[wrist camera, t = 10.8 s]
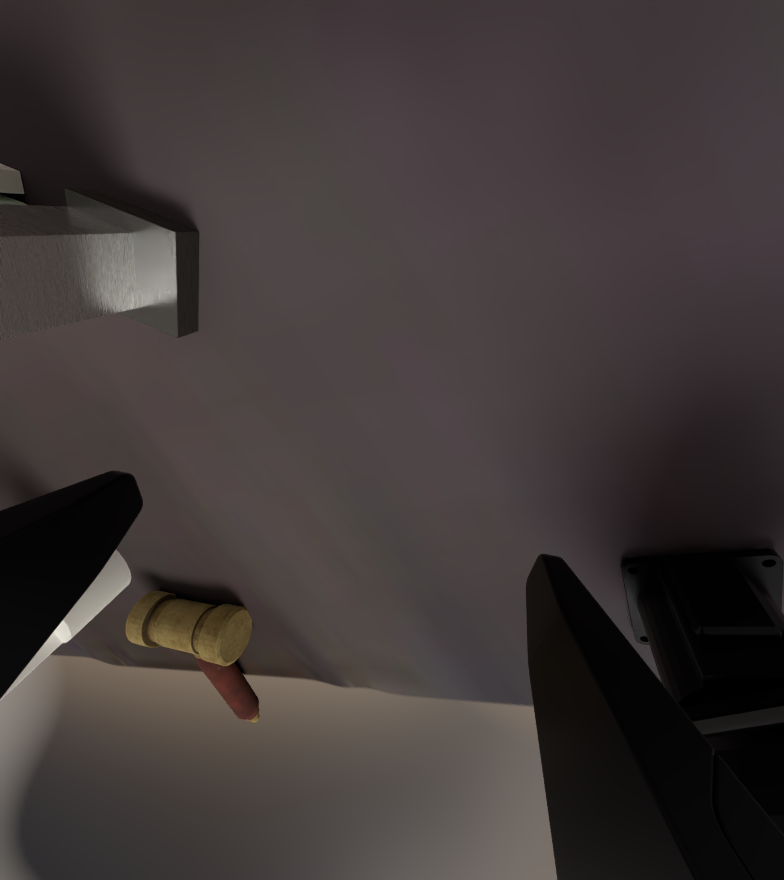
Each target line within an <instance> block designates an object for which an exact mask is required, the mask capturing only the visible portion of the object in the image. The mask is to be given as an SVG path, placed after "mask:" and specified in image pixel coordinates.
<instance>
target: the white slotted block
mask: <svg viewBox="0 0 784 880" xmlns="http://www.w3.org/2000/svg"><path fill="white" fill-rule="evenodd" d="M0 193H15V194H24V189H23V184H22V180H21V175H20V171H18V170H15V169H13V168H10V167H8V166H5V165H3V164H0Z"/></svg>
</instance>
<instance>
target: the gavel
mask: <svg viewBox="0 0 784 880" xmlns="http://www.w3.org/2000/svg"><path fill="white" fill-rule="evenodd" d="M251 631H252V620H251V618H250V615H249V613H248V611H247V610H246V609H245V607H241V606H236V605H231V604H222V605H220V606H216V605H210V604H205V603H200V602H195V601H190V600H185V599H178V598H177V597H176V595H175V594H173V593H168V592H163V591H153V592H150V593H148V594H146V595H144V596H143V597H142V598H141V599H140V600H139V601H138V602H137V603H136V604H135V605H134V607H133V608H132V610H131V612H130V614H129V616H128V619H127V622H126V635H127V637H128V639H129V640H130V641H131V642H132V643H135V644H139V645H143V646H147V647H151V648H155V647H159V646H164V647H168V648H172V649H176V650H180V651H185V652H189V653H193V654H194V656H195V658H196V661H197V664H198V666H199V667H200V668H201V670H202V671H203V672H204V674H205V675H206V676H207V677H208V679H209V680H210V681H211V683H212V684H213V685H214V687H215V688H216V689H217V691H218V692H219V693H220V695H221V696H222V697H223V699H224V700H225V701H226V702H227V704H228V705H229V706H230V708H231V709H232V710H233V712H234V713H235V714H236V716H237V717H238V718H240V719H244V720H247V721H252V722H257V721H258V719H259V708H258V707H259V700H258V697H257V696H256V694H255V692H254V691H253V690H252V688H251V686H250V685H249V683H248V682H247V680H246V679H245V677H244V676H243V674H242V673H241V671H240V670H239V668H238V667H237V665H236V664H235V661H236V660H237V659H238V658H239V657H240V655H241V654H242V653H243V651H244V649H245V648H246V646H247V644H248V641H249V639H250V635H251Z"/></svg>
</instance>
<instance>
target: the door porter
mask: <svg viewBox="0 0 784 880" xmlns="http://www.w3.org/2000/svg"><path fill="white" fill-rule="evenodd" d="M64 190H65V197H66V203H67V206H39V205H11V204H0V339H4V338H9V337H13V336H17V335H22V334H26V333H31V332H35V331H39V330H44V329H48V328H52V327H57V326H61V325H66V324H70V323H74V322H79V321H83V320H87V319H92V318H96V317H101V316H105V315H109V314H114V313H120V314H122V315H125V316H127V317H129V318H132V319H134V320H137V321H139V322H141V323H144V324H146V325H148V326H151V327H153V328H155V329H158V330H160V331H162V332H165V333H167V334H170V335H172V336H174V337H177V338H179V337H182V336H185V335H188V334H191V333H194V332H197V331H198V295H199V232H198V231H196V230H193V229H191V228H188V227H186V226H183V225H181V224H178V223H176V222H173V221H171V220H168V219H166V218H163V217H161V216H158V215H156V214H153V213H151V212H148V211H146V210H143V209H141V208H138V207H136V206H133V205H131V204H128V203H126V202H123V201H121V200H118V199H116V198H113V197H111V196H108V195H106V194H103V193H101V192H98V191H96V190H86V189H73V188H64Z"/></svg>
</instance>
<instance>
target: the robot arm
mask: <svg viewBox="0 0 784 880" xmlns="http://www.w3.org/2000/svg"><path fill="white" fill-rule="evenodd" d="M142 506H143V499H142V496H141V494H140V491H139V488H138V485H137V482H136V480H135V477H134V476H133V475H132V474H130V473H125V472H120V471H109V472H106V473H103V474H101V475H98V476H95V477H92V478H90V479H87V480H84V481H81V482H79V483H76V484H73V485H70V486H68V487H65V488H62V489H59V490H57V491H54V492H51V493H48V494H46V495H43V496H40V497H37V498H34V499H32V500H29V501H26V502H23V503H21V504H18V505H15V506H12V507H10V508H7V509H4V510H1V511H0V699H1V698H2V697H3V695H4V694H5V693H6V691H7V690H8V689H9V688H10V686H11V685H12V684H13V683H14V681H15V680H16V679H17V678H18V676H19V675H20V674H21V672H22V671H23V670H24V669H25V667H26V666H27V665H28V664H29V662H30V661H31V660H32V659H33V657H34V656H35V655H36V653H37V652H38V651H39V650H40V648H41V647H42V646H43V645H44V643H45V642H46V641H47V640H48V638H49V637H50V636H51V634H52V633H53V632H54V631H55V629H56V628H57V627H58V626H59V624H60V623H61V622H62V621H63V619H64V618H65V617H66V615H67V614H68V613H69V612H70V610H71V609H72V608H73V607H74V605H75V604H76V603H77V602H78V600H79V599H80V598H81V596H82V595H83V594H84V593H85V591H86V590H87V589H88V588H89V586H90V585H91V584H92V583H93V581H94V580H95V579H96V577H97V576H98V575H99V573H100V572H101V571H102V569H103V568H104V566H105V565H106V563H107V562H108V561H109V559H110V557H111V556H112V554H113V553H114V551H115V550H116V548H117V547H118V545H119V544H120V542H121V541H122V539H123V537H124V536H125V534H126V533H127V531H128V530H129V528H130V527H131V525H132V524H133V522H134V521H135V519H136V517H137V516H138V514H139V513H140V511H141V509H142ZM768 559H769V560H768ZM765 560H766V561H765ZM631 567H635V568H631ZM621 570H622V576H623V581H624V586H625V591H626V597H627V602H628V607H629V613H630V618H631V623H632V628H633V633H634V637H635V640H636V641H637V642H638V643H640V644H645V645H650V647H651V651H652V654H653V657H654V660H655V663H656V666H657V669H658V672H659V675H660V678H661V682H662V683H661V682H660V680H659V679H658V678H657V677H656V675H655V674H654V673H653V672H652V670H651V669H650V668H649V667H648V665H647V664H646V663H645V662H644V660H643V659H642V658H641V657H640V655H639V654H638V653H637V652H636V650H635V649H634V648H633V646H632V645H631V644H630V643H629V641H628V640H627V639H626V638H625V636H624V635H623V634H622V633H621V631H620V630H619V629H618V628H617V626H616V625H615V624H614V623H613V621H612V620H611V619H610V618H609V616H608V615H607V614H606V613H605V611H604V610H603V609H602V608H601V606H600V605H599V604H598V603H597V601H596V600H595V599H594V597H593V596H592V595H591V594H590V592H589V591H588V590H587V589H586V587H585V586H584V585H583V584H582V582H581V581H580V580H579V579H578V577H577V576H576V575H575V574H574V572H573V571H572V570H571V569H570V567H569V566H568V565H567V564H566V562H565V561H564V560H563V559H562V558H560V557H558V556H553V555H547V554H540V555H539V556H538V558H537V559H536V562H535V564H534V566H533V568H532V570H531V572H530V574H529V576H528V579H527V583H526V610H527V647H528V666H529V675H530V682H531V690H532V697H533V704H534V712H535V719H536V726H537V733H538V741H539V748H540V754H541V763H542V770H543V777H544V784H545V792H546V799H547V806H548V814H549V822H550V829H551V836H552V843H553V851H554V857H555V865H556V873H557V880H784V614H783V613H782V582H783V561H782V559H781V557H780V556H779V555H778V554H777V553H776V552H775V551H773V550H770V549H758V550H743V551H728V552H713V553H698V554H683V555H668V556H653V557H638V558H628V559H625V560H623V561H622V562H621Z"/></svg>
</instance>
